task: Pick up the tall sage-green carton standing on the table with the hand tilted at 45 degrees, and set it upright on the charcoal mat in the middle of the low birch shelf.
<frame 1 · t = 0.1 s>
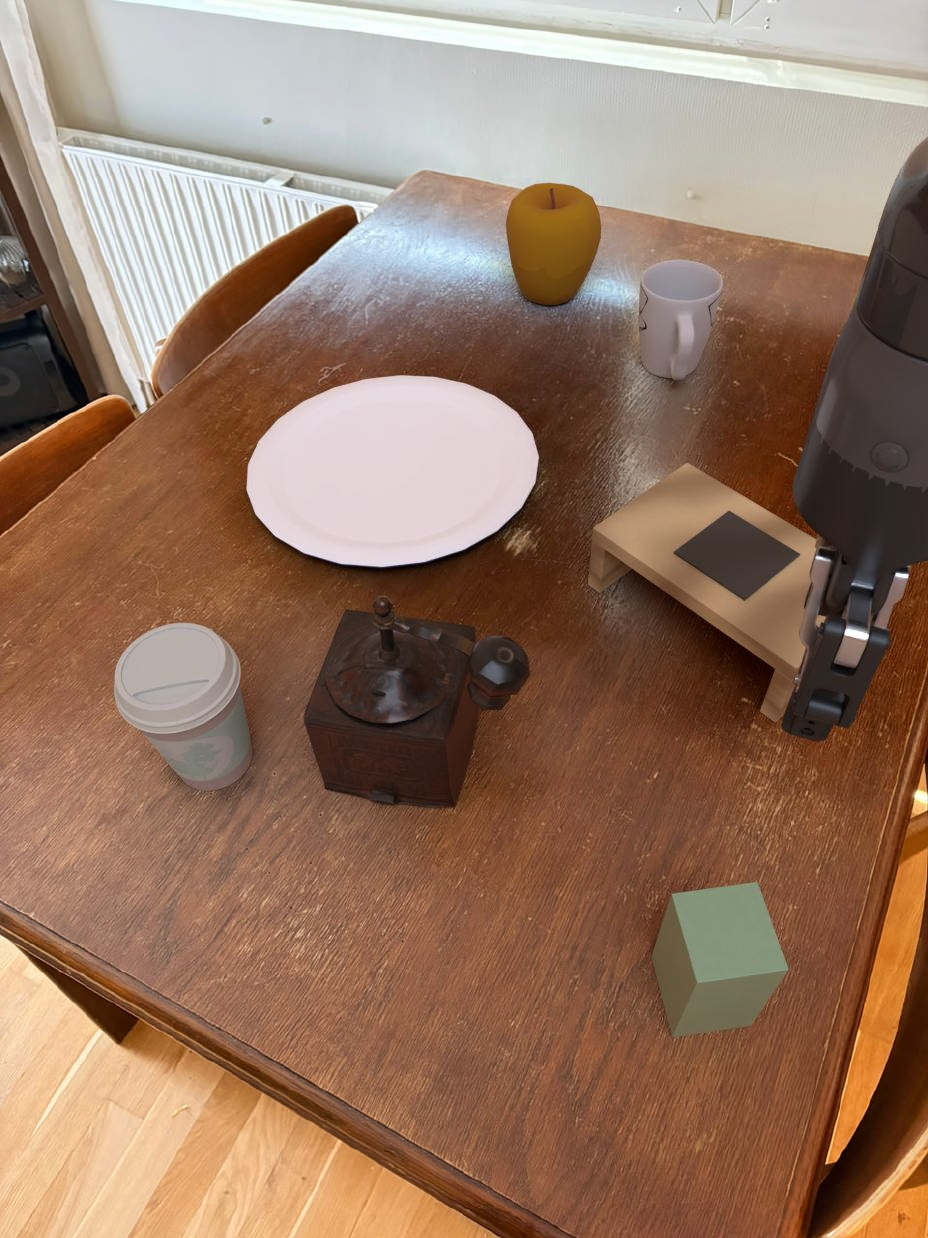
hand: (813, 668, 48), 20 cm above the table, tool pointing down, fingers open, 8 cm apart
apple: (550, 295, 111), on the table
plate: (394, 473, 91), on the table
shelf: (720, 611, 77), on the table
coffee grinder: (435, 752, 69), on the table
green carton: (699, 990, 57), on the table
mug: (670, 372, 100), on the table
coffee cup: (216, 759, 70), on the table
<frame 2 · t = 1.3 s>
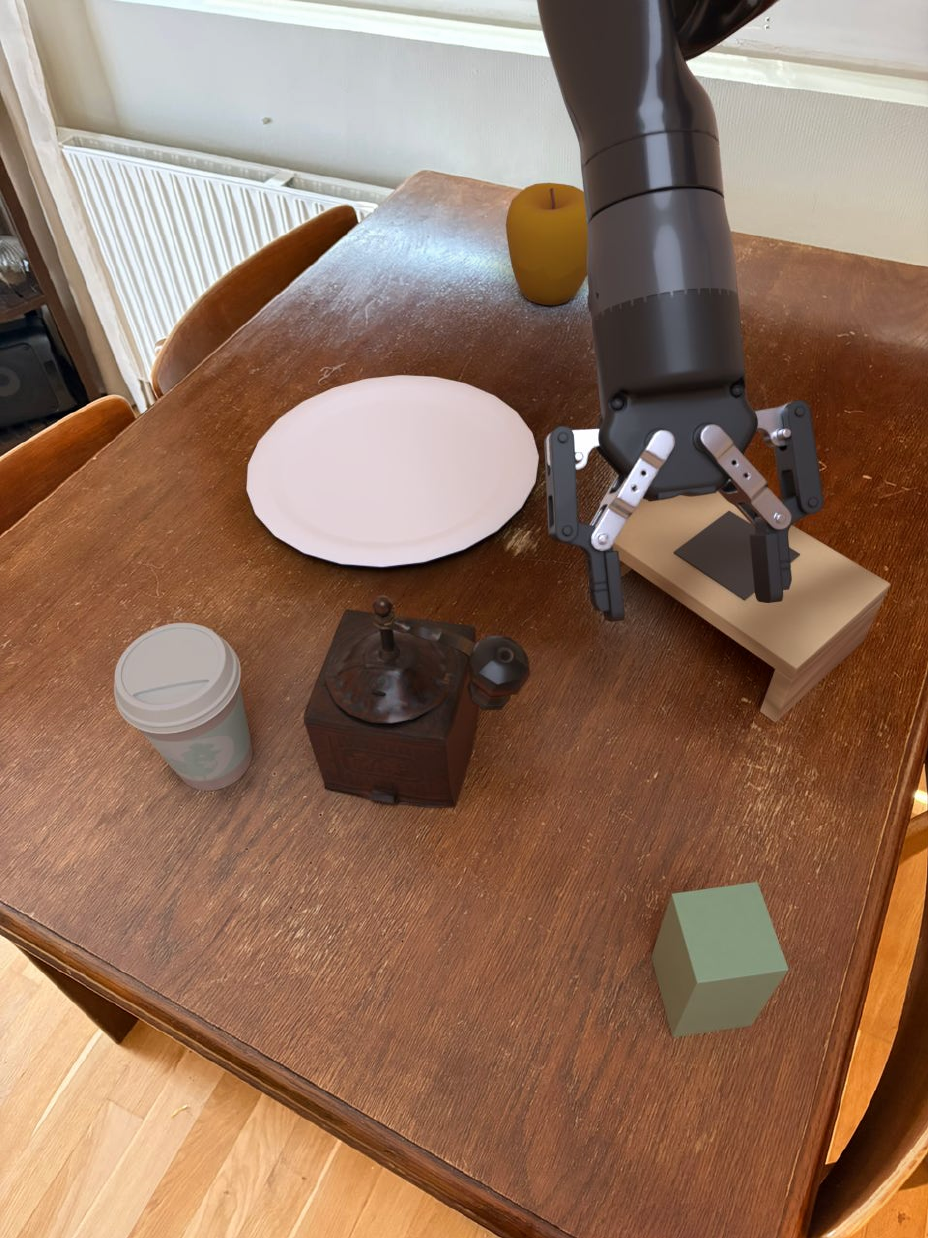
hand: (692, 610, 48), 22 cm above the table, tool tilted 45°, fingers open, 8 cm apart
nothing on the table moved.
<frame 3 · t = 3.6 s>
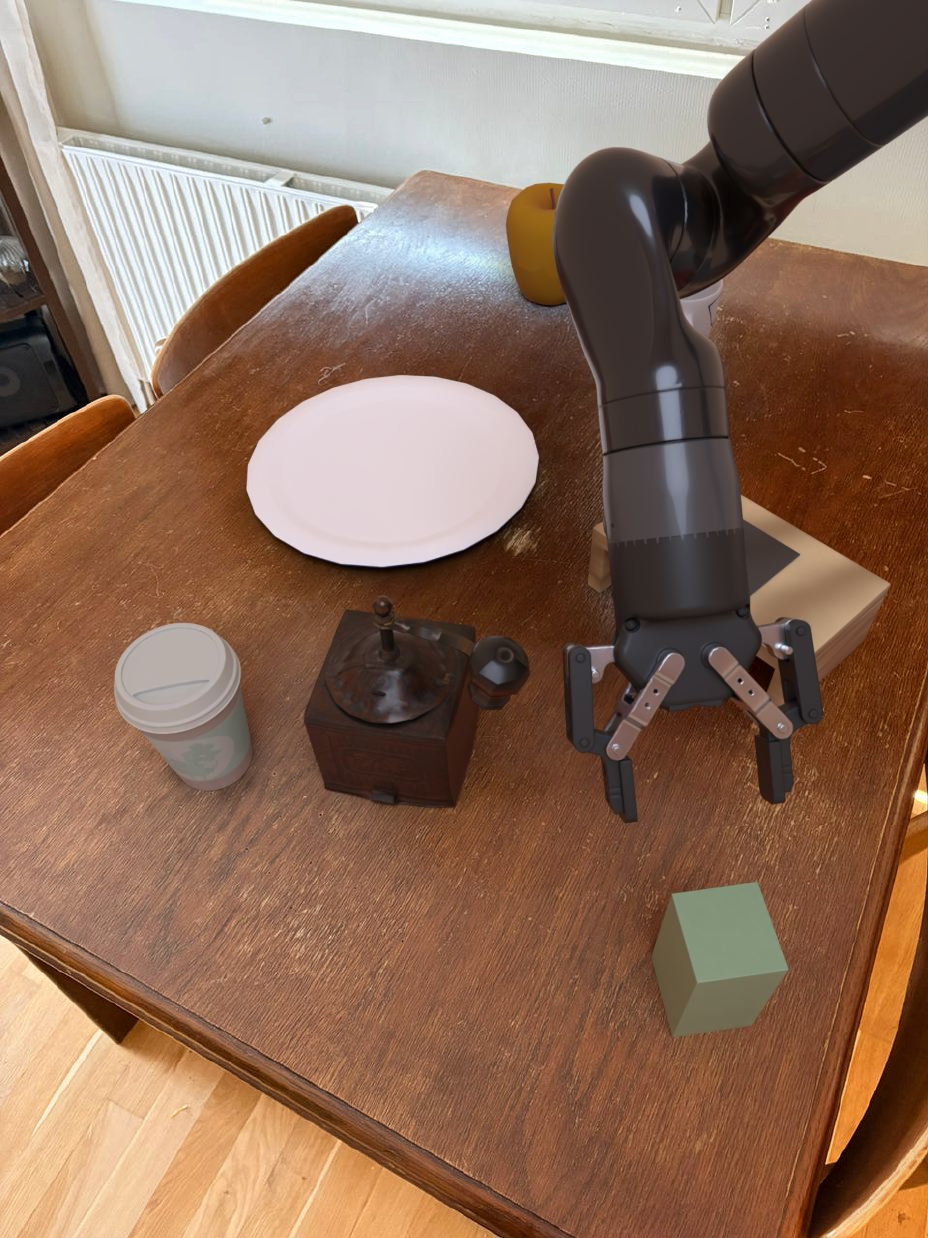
hand: (700, 809, 52), 12 cm above the table, tool tilted 45°, fingers open, 8 cm apart
nothing on the table moved.
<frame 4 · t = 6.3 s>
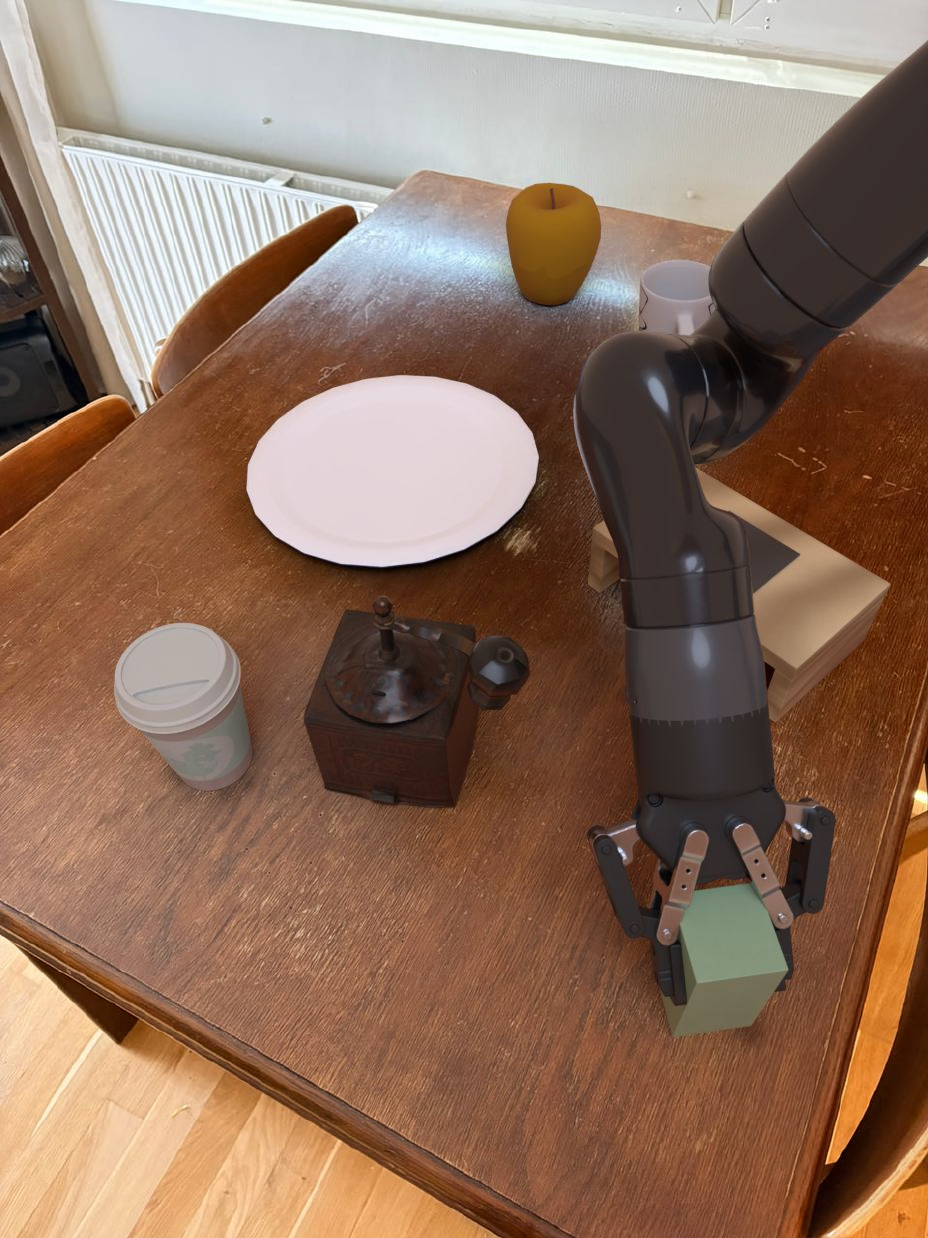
hand: (725, 990, 51), 6 cm above the table, tool tilted 45°, fingers closed on green carton, 5 cm apart
green carton: (699, 990, 57), on the table, touching gripper
everything else where it was.
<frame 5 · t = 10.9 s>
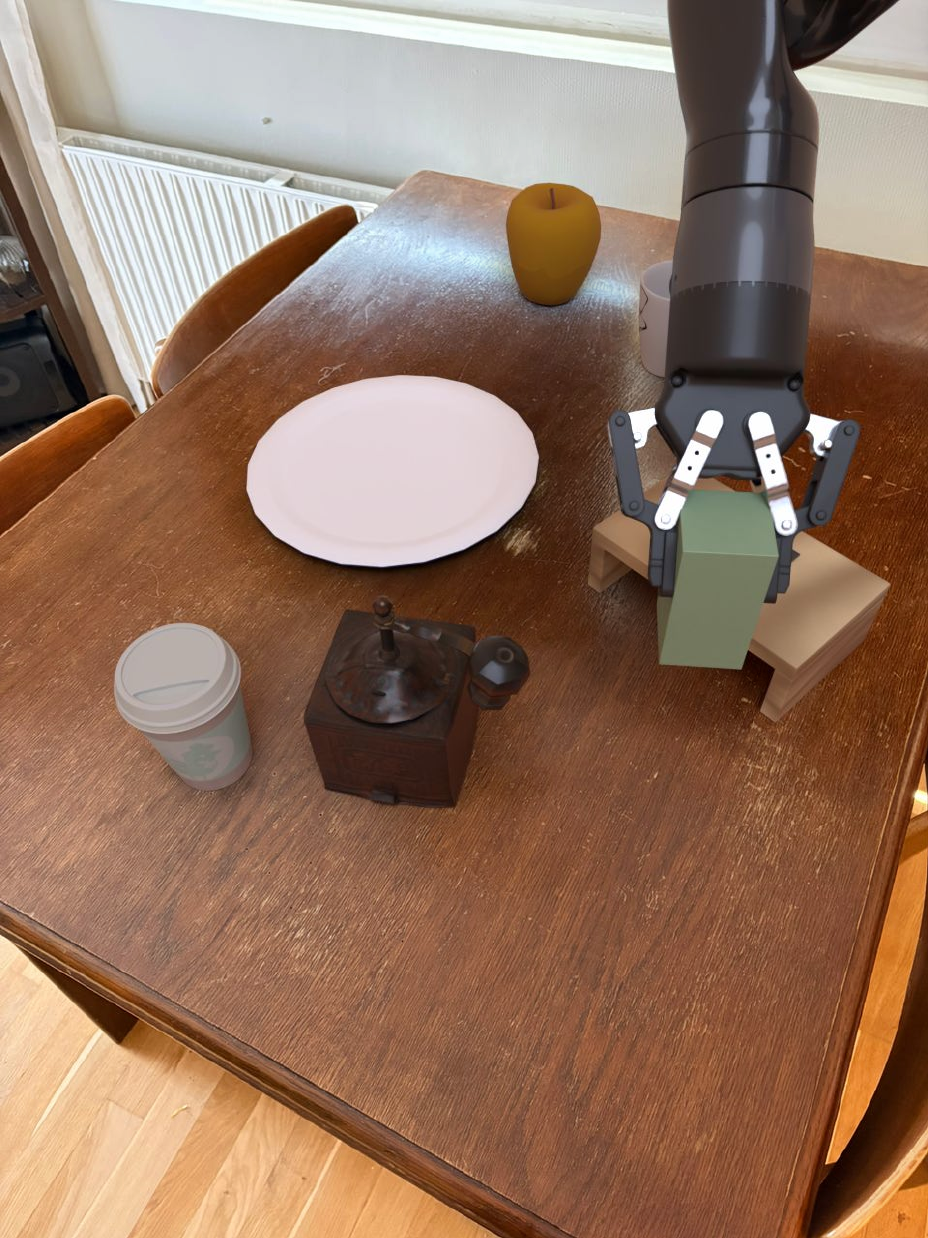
hand: (716, 598, 51), 20 cm above the table, tool tilted 45°, fingers closed on green carton, 5 cm apart
green carton: (697, 635, 57), point 14 cm above the table, touching gripper
everything else where it was.
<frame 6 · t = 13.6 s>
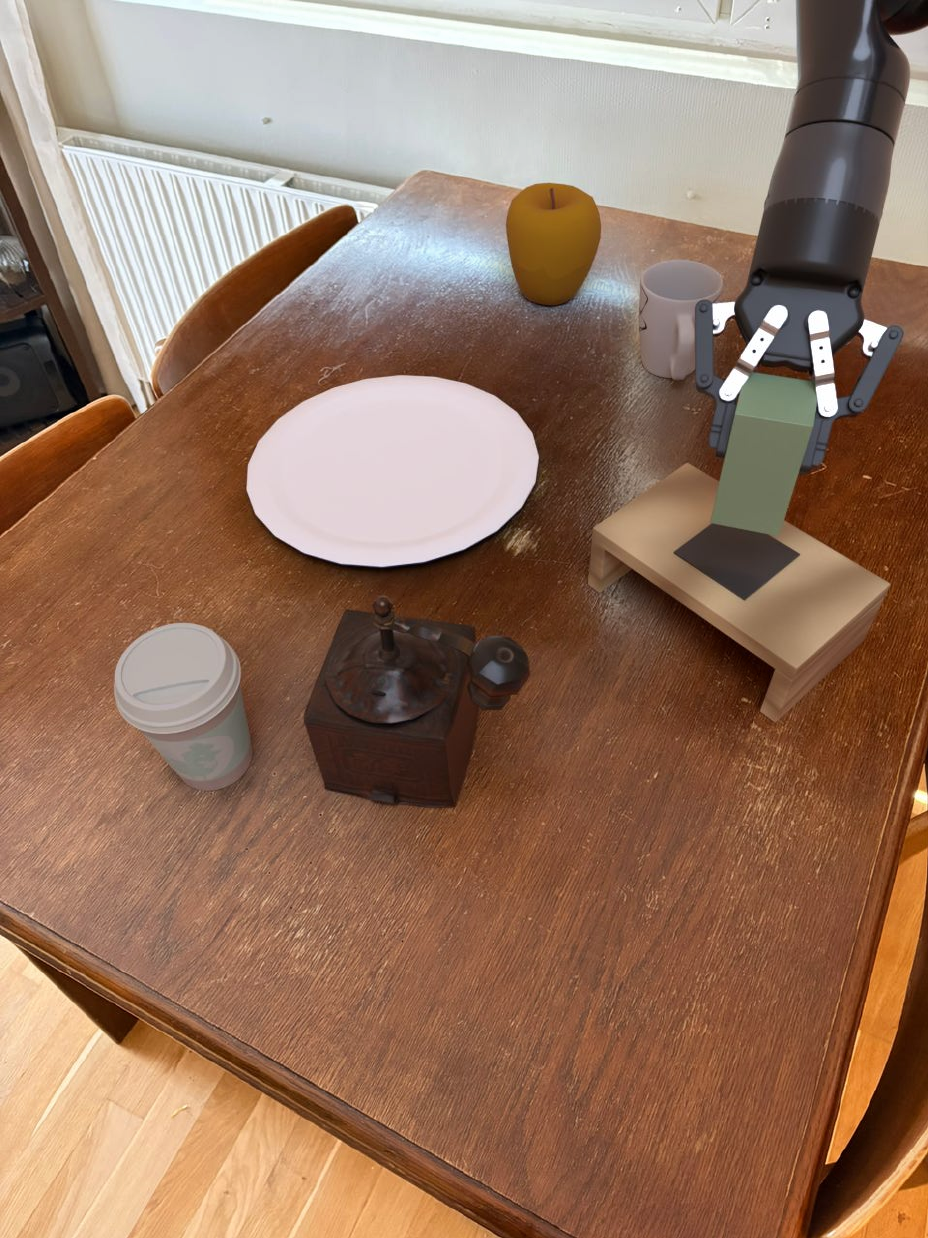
hand: (761, 465, 62), 18 cm above the table, tool tilted 45°, fingers closed on green carton, 5 cm apart
green carton: (748, 507, 68), point 12 cm above the table, touching gripper
everything else where it was.
when the fingers open (13 cm above the table, at t = 15.4 s): green carton stays where it is, resting on shelf.
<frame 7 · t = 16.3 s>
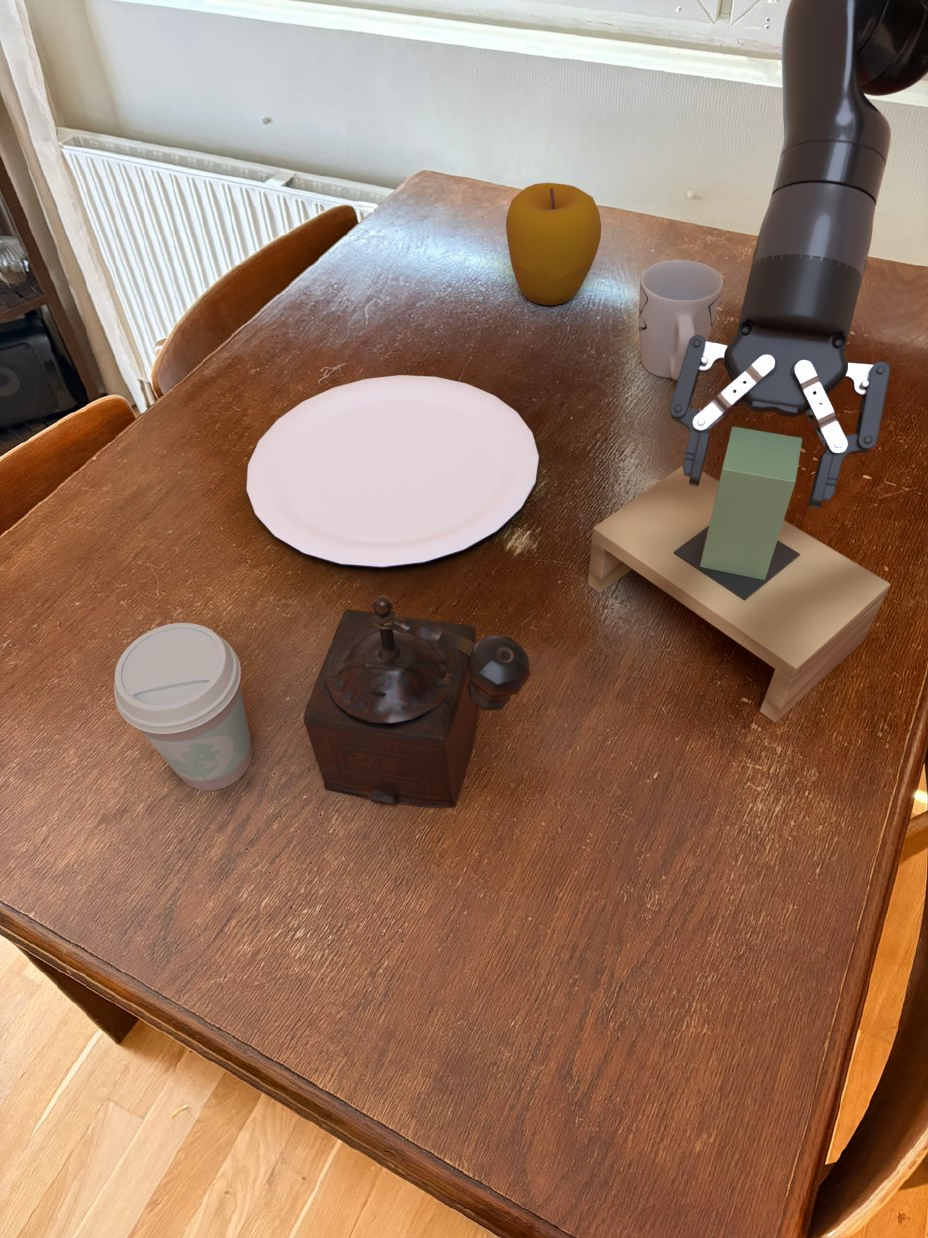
hand: (753, 495, 65), 14 cm above the table, tool tilted 45°, fingers open, 8 cm apart
green carton: (736, 551, 71), point 7 cm above the table, touching shelf
everything else where it was.
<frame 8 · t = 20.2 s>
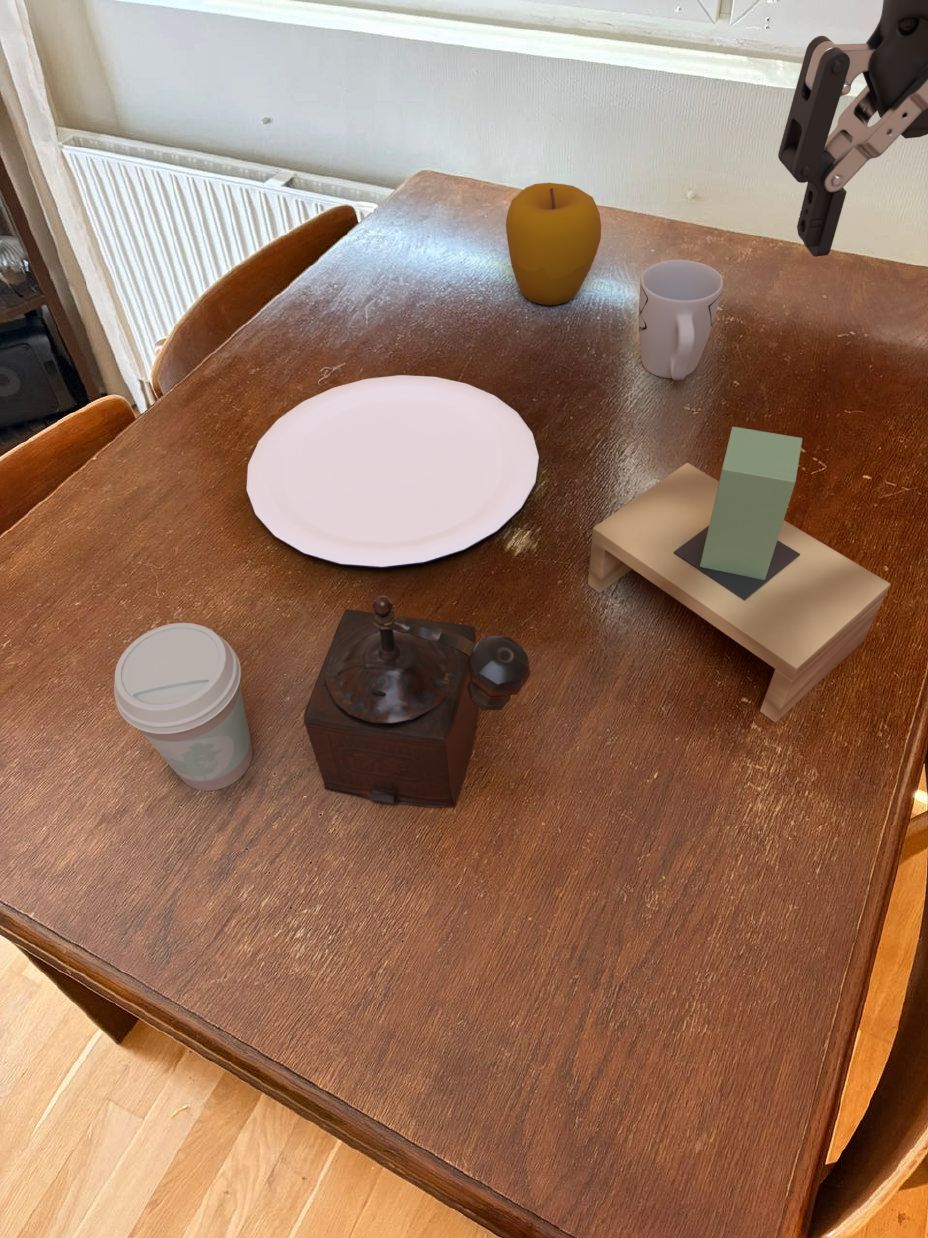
hand: (888, 242, 51), 33 cm above the table, tool pointing down, fingers open, 8 cm apart
nothing on the table moved.
at the end: green carton inside the target area on the shelf (0.1 cm from its centre), point 7.2 cm above the shelf's base; green carton tilted 0°; the gripper is holding nothing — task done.
